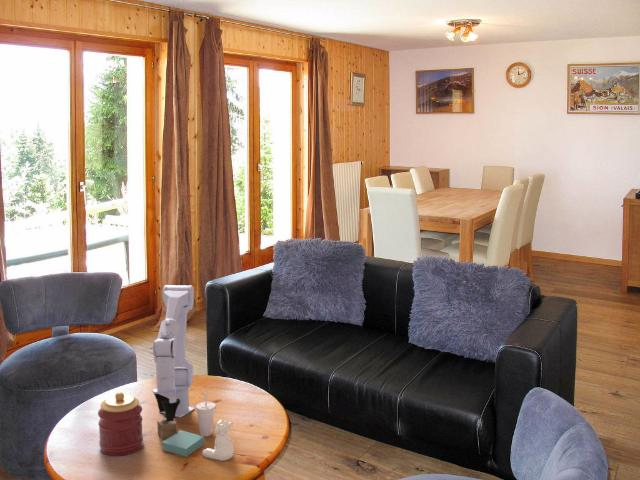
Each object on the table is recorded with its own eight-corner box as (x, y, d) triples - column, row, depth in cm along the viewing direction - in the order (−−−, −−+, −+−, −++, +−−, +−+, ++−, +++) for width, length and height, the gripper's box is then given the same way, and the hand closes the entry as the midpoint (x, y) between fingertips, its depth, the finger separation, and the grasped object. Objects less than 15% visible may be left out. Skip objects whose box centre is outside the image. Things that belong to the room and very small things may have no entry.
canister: (93, 444, 208) (90, 390, 204) (133, 432, 215) (131, 381, 212) (108, 461, 198) (105, 405, 194) (150, 448, 205) (148, 394, 202)
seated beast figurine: (227, 445, 208) (226, 409, 206) (243, 456, 202) (243, 419, 199) (201, 455, 202) (200, 418, 199) (217, 466, 195) (216, 428, 193)
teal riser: (162, 449, 205) (162, 442, 204) (180, 437, 213) (180, 430, 212) (186, 456, 201) (186, 448, 200) (204, 443, 209) (203, 436, 208)
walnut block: (157, 434, 215) (157, 420, 214) (172, 431, 217) (171, 417, 216) (162, 440, 210) (161, 426, 210) (177, 437, 213) (176, 422, 212)
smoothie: (199, 439, 211) (198, 398, 209) (193, 431, 217) (192, 390, 214) (218, 435, 214) (218, 394, 212) (212, 427, 220) (211, 387, 217)
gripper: (146, 370, 214) (147, 409, 217) (159, 385, 202) (161, 427, 204) (168, 366, 218) (169, 405, 220) (182, 381, 205) (183, 422, 208)
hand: (166, 416), depth 212 cm, fingers open, 7 cm apart
